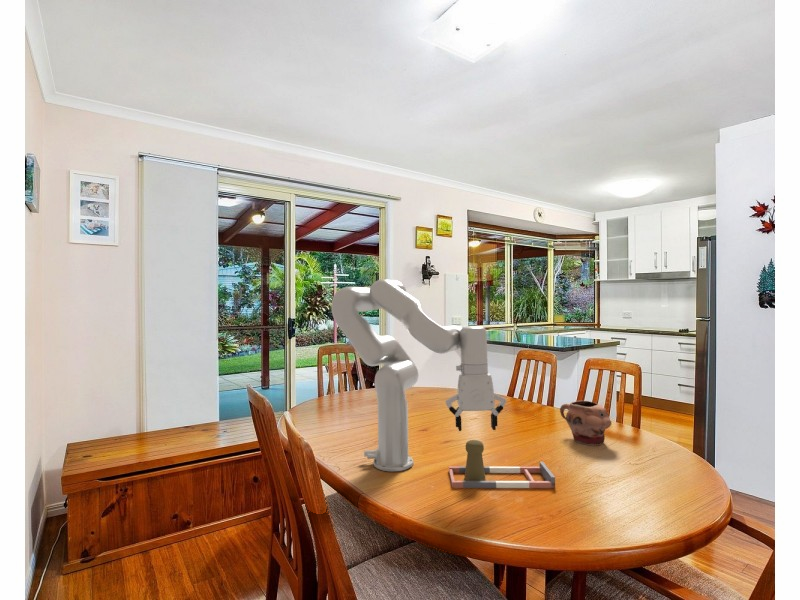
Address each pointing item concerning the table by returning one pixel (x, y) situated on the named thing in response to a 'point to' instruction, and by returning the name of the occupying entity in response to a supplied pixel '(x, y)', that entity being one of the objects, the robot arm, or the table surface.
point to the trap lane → (506, 484)
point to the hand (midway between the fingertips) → (476, 429)
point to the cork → (474, 461)
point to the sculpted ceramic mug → (586, 421)
